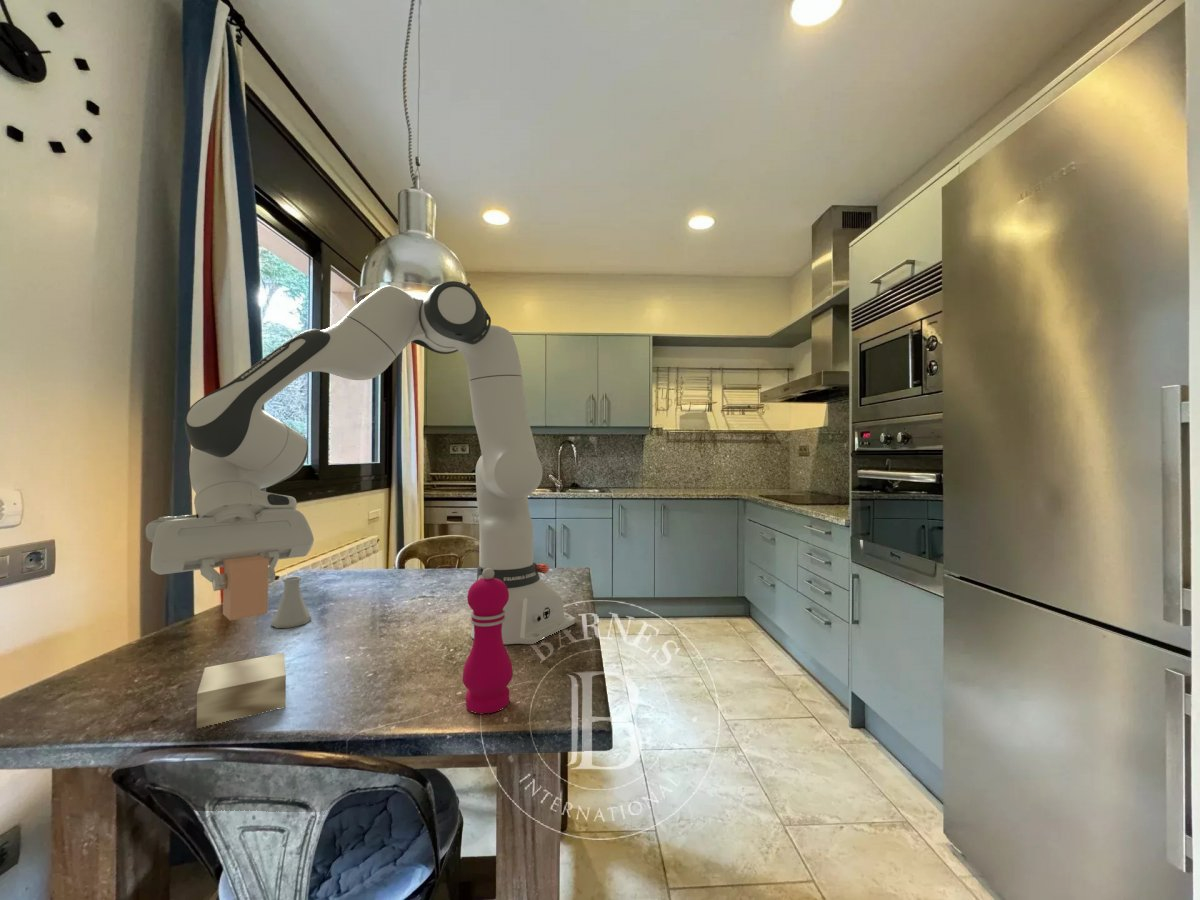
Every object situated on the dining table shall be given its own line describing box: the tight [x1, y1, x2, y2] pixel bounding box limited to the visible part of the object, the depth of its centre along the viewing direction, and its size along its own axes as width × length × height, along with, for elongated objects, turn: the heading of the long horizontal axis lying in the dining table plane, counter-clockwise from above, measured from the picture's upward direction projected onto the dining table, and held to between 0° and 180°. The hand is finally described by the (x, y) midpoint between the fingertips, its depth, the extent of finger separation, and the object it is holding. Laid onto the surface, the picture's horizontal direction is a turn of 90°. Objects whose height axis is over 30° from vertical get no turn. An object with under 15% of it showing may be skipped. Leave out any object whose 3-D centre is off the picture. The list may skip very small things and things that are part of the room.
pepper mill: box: [461, 568, 514, 714], centre depth 72 cm, size 7×7×20 cm
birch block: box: [196, 652, 287, 730], centre depth 72 cm, size 10×10×5 cm
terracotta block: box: [222, 555, 269, 621], centre depth 73 cm, size 4×4×8 cm
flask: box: [270, 576, 312, 629], centre depth 108 cm, size 7×7×10 cm
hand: (245, 584), depth 73 cm, fingers closed on terracotta block, 4 cm apart
